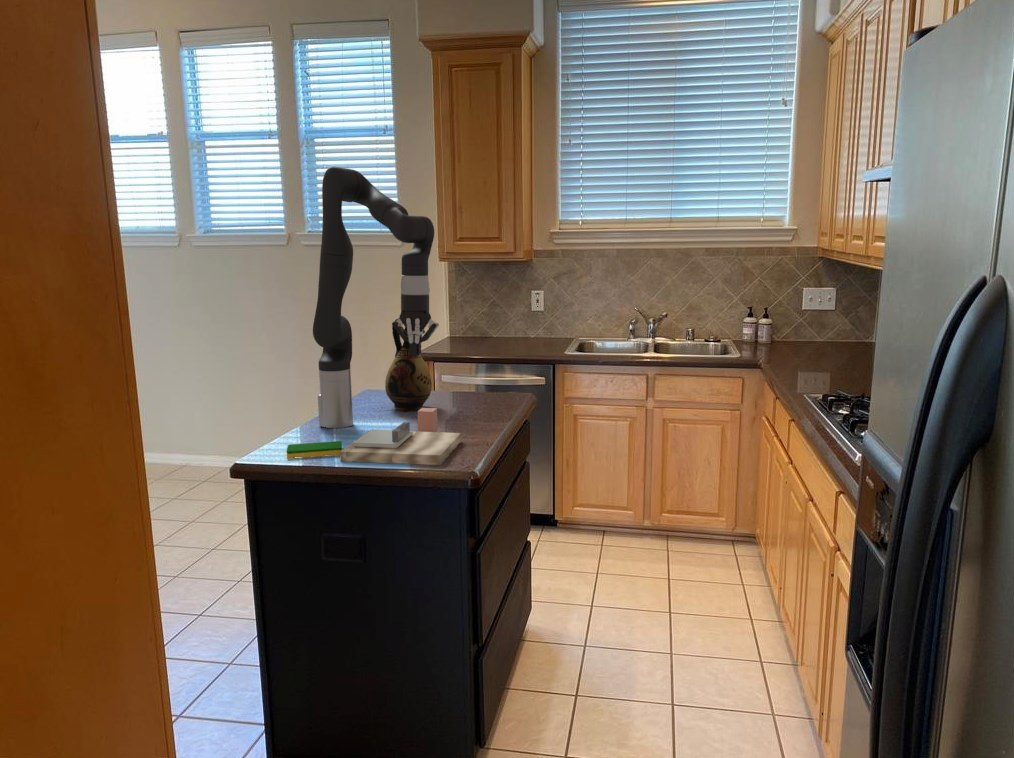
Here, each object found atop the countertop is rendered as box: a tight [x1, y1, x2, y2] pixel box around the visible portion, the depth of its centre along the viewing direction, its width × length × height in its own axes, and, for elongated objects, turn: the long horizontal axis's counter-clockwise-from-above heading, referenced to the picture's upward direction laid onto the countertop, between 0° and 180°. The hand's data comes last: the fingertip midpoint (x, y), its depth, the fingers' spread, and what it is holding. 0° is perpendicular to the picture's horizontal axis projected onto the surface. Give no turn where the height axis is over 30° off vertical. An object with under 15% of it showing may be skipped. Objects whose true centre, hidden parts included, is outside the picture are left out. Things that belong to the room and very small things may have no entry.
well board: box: [339, 429, 462, 466], centre depth 197 cm, size 26×22×2 cm
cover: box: [353, 421, 413, 448], centre depth 197 cm, size 12×14×4 cm
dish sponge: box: [286, 440, 343, 459], centre depth 196 cm, size 7×14×2 cm, turn 103°
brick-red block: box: [417, 407, 439, 432], centre depth 215 cm, size 4×4×7 cm
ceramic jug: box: [384, 317, 433, 412], centre depth 246 cm, size 17×15×30 cm
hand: (415, 356), depth 202 cm, fingers closed
